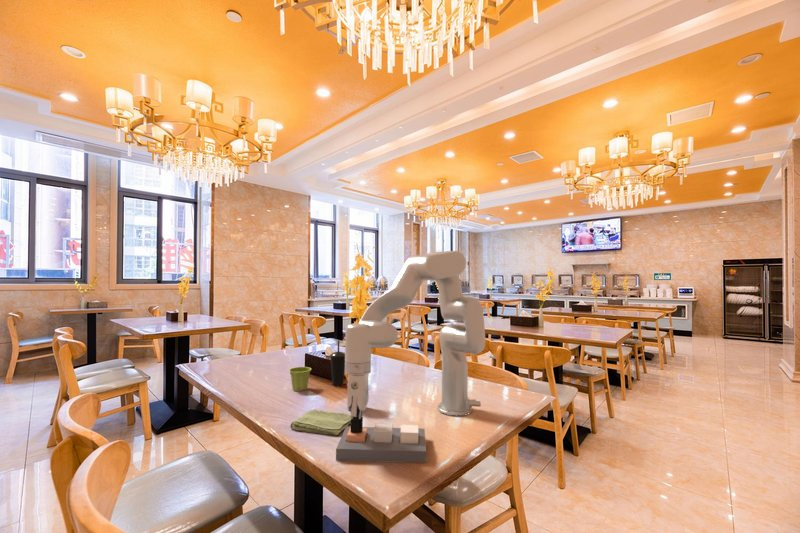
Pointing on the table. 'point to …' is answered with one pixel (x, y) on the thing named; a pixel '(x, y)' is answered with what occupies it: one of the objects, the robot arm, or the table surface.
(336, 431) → the washcloth
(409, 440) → the cream key
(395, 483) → the table surface
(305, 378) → the plant pot
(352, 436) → the terracotta key
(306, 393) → the table surface
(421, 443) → the keypad base
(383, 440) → the grey key
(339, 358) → the drinking cup
